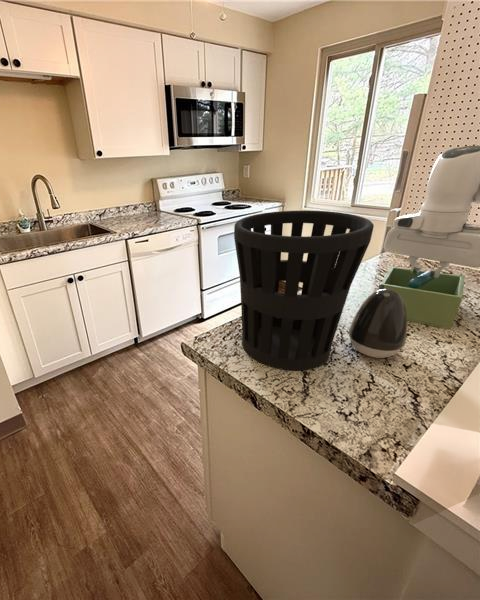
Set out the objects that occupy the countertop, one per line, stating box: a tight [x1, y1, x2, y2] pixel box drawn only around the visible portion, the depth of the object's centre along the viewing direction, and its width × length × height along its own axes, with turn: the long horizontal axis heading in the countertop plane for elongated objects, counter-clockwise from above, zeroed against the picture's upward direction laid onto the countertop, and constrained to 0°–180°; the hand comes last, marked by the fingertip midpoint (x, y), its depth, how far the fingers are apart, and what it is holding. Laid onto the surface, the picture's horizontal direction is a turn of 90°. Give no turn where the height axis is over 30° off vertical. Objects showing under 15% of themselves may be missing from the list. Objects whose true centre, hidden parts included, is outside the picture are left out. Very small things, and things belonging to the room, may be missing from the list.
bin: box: [379, 266, 466, 330], centre depth 83 cm, size 16×16×9 cm
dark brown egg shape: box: [348, 283, 408, 359], centre depth 67 cm, size 10×10×15 cm
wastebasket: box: [233, 210, 375, 372], centre depth 69 cm, size 25×25×30 cm
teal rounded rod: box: [408, 270, 435, 289], centre depth 81 cm, size 11×2×2 cm
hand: (424, 274), depth 80 cm, fingers open, 3 cm apart
